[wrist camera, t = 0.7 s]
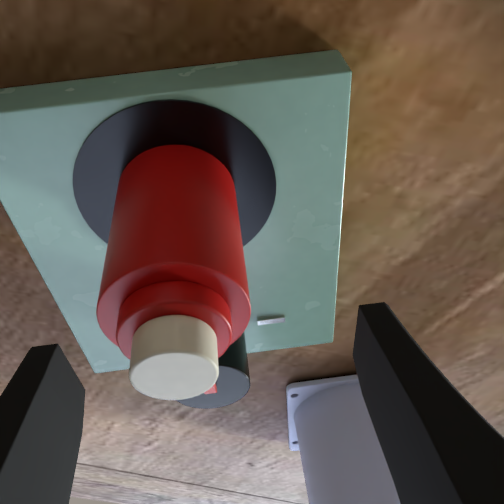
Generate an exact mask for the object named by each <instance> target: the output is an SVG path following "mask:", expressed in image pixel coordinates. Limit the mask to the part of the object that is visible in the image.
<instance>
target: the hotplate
mask: <svg viewBox="0 0 504 504" xmlns="http://www.w3.org/2000/svg"><path fill="white" fill-rule="evenodd" d="M351 79H352V71H351V69H350V68H349V66H348V65H347V63H346V61H345V60H344V58H343V57H342V55H341V54H340V52H339V51H338V50H329V51H320V52H312V53H303V54H294V55H286V56H277V57H269V58H260V59H251V60H243V61H234V62H226V63H217V64H209V65H200V66H191V67H183V68H174V69H166V70H157V71H149V72H140V73H131V74H123V75H114V76H106V77H97V78H88V79H80V80H71V81H63V82H54V83H46V84H37V85H28V86H20V87H11V88H3V89H0V201H1V203H2V205H3V207H4V208H5V210H6V212H7V214H8V216H9V218H10V219H11V221H12V223H13V225H14V227H15V229H16V230H17V232H18V234H19V236H20V238H21V239H22V241H23V243H24V245H25V247H26V249H27V250H28V252H29V254H30V256H31V258H32V260H33V261H34V263H35V265H36V267H37V269H38V270H39V272H40V274H41V276H42V278H43V280H44V281H45V283H46V285H47V287H48V289H49V291H50V292H51V294H52V296H53V298H54V300H55V302H56V303H57V305H58V307H59V309H60V311H61V312H62V314H63V316H64V318H65V320H66V322H67V323H68V325H69V327H70V329H71V331H72V333H73V334H74V336H75V338H76V340H77V342H78V343H79V345H80V347H81V349H82V351H83V353H84V354H85V356H86V358H87V360H88V362H89V364H90V365H91V367H92V369H93V371H94V373H102V372H110V371H118V370H125V369H129V368H130V360H129V359H128V358H127V357H126V356H125V355H124V354H123V353H122V352H121V350H120V349H119V347H118V346H116V345H115V344H114V343H112V342H111V341H110V340H109V339H108V338H107V337H106V336H105V334H104V333H103V331H102V330H101V328H100V326H99V323H98V321H97V315H96V309H97V302H98V296H99V290H100V285H101V279H102V273H103V268H104V262H105V257H106V251H107V245H108V244H107V243H105V242H104V241H103V240H102V239H101V238H100V237H98V236H97V235H96V234H95V232H94V231H93V230H92V229H91V228H90V227H89V226H88V224H87V223H86V221H85V220H84V218H83V217H82V215H81V213H80V211H79V209H78V206H77V203H76V200H75V197H74V191H73V170H74V164H75V161H76V158H77V155H78V152H79V150H80V148H81V147H82V145H83V143H84V141H85V140H86V138H87V137H88V136H89V135H90V133H91V132H92V131H93V130H94V129H95V128H96V127H97V126H98V125H99V124H100V123H102V122H103V121H104V120H105V119H107V118H108V117H110V116H112V115H113V114H115V113H117V112H119V111H121V110H123V109H125V108H127V107H130V106H133V105H136V104H139V103H143V102H148V101H154V100H165V99H177V100H189V101H194V102H199V103H203V104H206V105H210V106H213V107H216V108H218V109H220V110H222V111H224V112H226V113H229V114H230V115H232V116H233V117H235V118H237V119H238V120H240V121H241V122H242V123H244V124H245V125H246V126H247V127H248V128H250V129H251V130H252V131H253V132H254V134H255V135H256V136H257V137H258V138H259V139H260V140H261V142H262V143H263V145H264V146H265V148H266V149H267V152H268V154H269V156H270V158H271V160H272V163H273V167H274V170H275V176H276V197H275V202H274V206H273V208H272V211H271V214H270V216H269V218H268V220H267V222H266V223H265V225H264V226H263V227H262V229H261V230H260V232H259V233H258V234H257V235H256V236H255V237H254V238H253V239H252V240H251V241H250V242H248V243H247V244H246V245H245V246H243V252H244V259H245V267H246V274H247V281H248V289H249V296H250V304H251V316H250V320H249V323H248V325H247V327H246V329H245V331H244V333H245V342H246V350H247V353H254V352H261V351H269V350H277V349H284V348H292V347H299V346H307V345H314V344H322V343H330V342H333V334H334V320H335V305H336V291H337V277H338V263H339V249H340V235H341V220H342V206H343V192H344V178H345V164H346V149H347V135H348V121H349V107H350V93H351Z"/></svg>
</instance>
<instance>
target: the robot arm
mask: <svg viewBox="0 0 504 504" xmlns="http://www.w3.org/2000/svg"><path fill="white" fill-rule="evenodd" d="M353 359H354V363H355V367H356V372H357V374H356V375H349V376H341V377H334V378H326V379H319V380H311V381H304V382H297V383H291V384H289V385H288V386H287V387H286V396H287V417H288V438H289V449H290V450H292V451H298V450H300V455H301V461H302V466H303V472H304V477H305V483H306V488H307V494H308V499H309V504H504V437H503V436H502V435H501V434H500V433H499V432H498V431H496V430H495V429H494V428H493V427H492V426H491V425H490V424H489V423H488V422H487V421H486V420H485V419H484V418H483V417H482V416H481V415H480V414H479V413H478V412H477V411H476V409H475V408H474V407H473V406H472V405H471V404H470V403H469V402H468V401H467V400H466V399H465V398H464V397H463V396H462V395H461V394H460V393H459V392H458V390H457V389H456V388H455V387H454V386H453V385H452V384H451V383H450V382H449V380H448V379H447V378H446V377H445V376H444V375H443V374H442V372H441V371H440V370H439V369H438V368H437V367H436V366H435V364H434V363H433V362H432V361H431V360H430V359H429V357H428V356H427V355H426V354H425V353H424V351H423V350H422V349H421V348H420V346H419V345H418V344H417V343H416V341H415V340H414V339H413V338H412V336H411V335H410V334H409V333H408V331H407V330H406V329H405V327H404V326H403V325H402V324H401V322H400V321H399V320H398V318H397V317H396V315H395V314H394V313H393V311H392V310H391V309H390V307H389V306H388V305H387V304H386V303H385V302H382V303H374V304H366V305H359V309H358V317H357V325H356V333H355V340H354V348H353ZM84 400H85V389H84V387H83V385H82V384H81V382H80V380H79V379H78V377H77V375H76V374H75V372H74V370H73V368H72V367H71V365H70V363H69V362H68V360H67V358H66V357H65V355H64V353H63V352H62V350H61V348H60V346H59V345H58V344H52V345H44V346H36V347H32V348H31V349H30V350H29V352H28V353H27V355H26V356H25V358H24V359H23V361H22V363H21V364H20V366H19V367H18V369H17V371H16V372H15V374H14V375H13V377H12V379H11V380H10V382H9V383H8V385H7V387H6V388H5V390H4V391H3V393H2V395H1V396H0V504H69V499H70V494H71V489H72V484H73V479H74V473H75V468H76V463H77V458H78V452H79V447H80V442H81V436H82V429H83V417H84Z"/></svg>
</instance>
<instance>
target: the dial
mask: <svg viewBox="0 0 504 504" xmlns="http://www.w3.org/2000/svg"><path fill="white" fill-rule="evenodd" d="M218 366H219V375H218V378H217V381H216V382H215V384H214V385H213V386H212V387H211V388H210V389H209V390H207V391H206V392H204V393H202V394H200V395H198V396H195V397H192V398H188V399H181V400H177V401H178V402H180V403H182V404H184V405H186V406H190V407H194V408H205V409H207V408H218V407H223V406H226V405H230V404H232V403H234V402H236V401H238V400H240V399H241V398H242V397H244V396H245V395H246V393H247V392H248V390H249V388H250V376H249V368H248V359H247V350H246V342H245V333H244V332H243V333H242V335H241V336H240V337H239V338H238V339H237V340H236V341H235V342H234V343H232V344H231V345H229V347H228V349H227V350H226V351H225V353H224V354H223V355H222V356H221V357H219V358H218Z"/></svg>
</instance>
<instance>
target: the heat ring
mask: <svg viewBox="0 0 504 504" xmlns="http://www.w3.org/2000/svg"><path fill="white" fill-rule="evenodd" d="M174 144H175V145H186V146H192V147H195V148H198V149H201V150H203V151H206V152H207V153H209V154H211V155H213V156H214V157H215V158H217V159H218V160H219V161H220V162H221V163H222V164H223V165H224V166H225V167H226V169H227V170H228V171H229V173H230V175H231V177H232V179H233V182H234V186H235V192H236V200H237V207H238V214H239V222H240V229H241V237H242V244H243V246H245V245H246V244H247V243H248V242H250V241H251V240H252V239H253V238H254V237H255V236H256V235H257V234H258V233H259V232H260V230H261V229H262V227H263V226H264V225H265V223H266V222H267V220H268V218H269V216H270V214H271V211H272V208H273V206H274V202H275V197H276V176H275V170H274V167H273V163H272V160H271V158H270V156H269V154H268V152H267V149H266V148H265V146H264V145H263V143H262V142H261V140H260V139H259V138H258V137H257V136H256V135H255V134H254V132H253V131H252V130H251V129H250V128H248V127H247V126H246V125H245V124H244V123H242V122H241V121H240V120H238V119H237V118H235V117H233V116H232V115H230V114H229V113H226V112H224V111H222V110H220V109H218V108H216V107H213V106H210V105H206V104H203V103H199V102H194V101H189V100H177V99H165V100H154V101H148V102H143V103H139V104H136V105H133V106H130V107H127V108H125V109H123V110H121V111H119V112H117V113H115V114H113V115H112V116H110V117H108V118H107V119H105V120H104V121H103V122H102V123H100V124H99V125H98V126H97V127H96V128H95V129H94V130H93V131H92V132H91V133H90V135H89V136H88V137H87V138H86V140H85V141H84V143H83V145H82V147H81V148H80V150H79V152H78V155H77V158H76V161H75V164H74V170H73V191H74V197H75V200H76V203H77V206H78V209H79V211H80V213H81V215H82V217H83V218H84V220H85V221H86V223H87V224H88V226H89V227H90V228H91V229H92V230H93V231H94V232H95V234H96V235H97V236H98V237H100V238H101V239H102V240H103V241H104V242H105V243H107V244H108V240H109V234H110V228H111V223H112V217H113V212H114V206H115V200H116V195H117V189H118V184H119V180H120V177H121V174H122V172H123V171H124V169H125V168H126V166H127V165H128V164H129V163H130V162H131V161H132V160H133V159H134V158H135V157H136V156H138V155H140V154H141V153H143V152H145V151H147V150H149V149H152V148H155V147H158V146H164V145H174Z"/></svg>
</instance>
